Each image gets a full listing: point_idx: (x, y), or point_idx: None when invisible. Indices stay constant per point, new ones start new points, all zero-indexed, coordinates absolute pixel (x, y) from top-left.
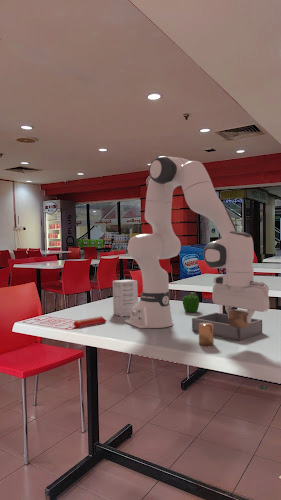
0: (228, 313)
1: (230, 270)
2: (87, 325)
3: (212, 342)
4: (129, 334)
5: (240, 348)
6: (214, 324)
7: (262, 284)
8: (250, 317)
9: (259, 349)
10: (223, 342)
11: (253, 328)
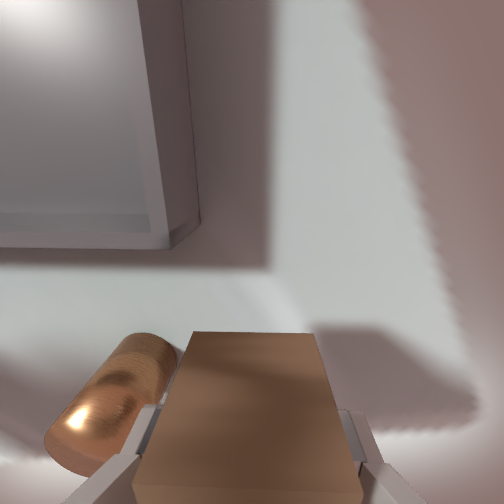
0: (134, 498)
1: None
2: None
3: (171, 367)
4: None
5: (279, 320)
6: None
7: None
8: (381, 470)
9: (353, 282)
10: (169, 293)
11: (162, 10)
